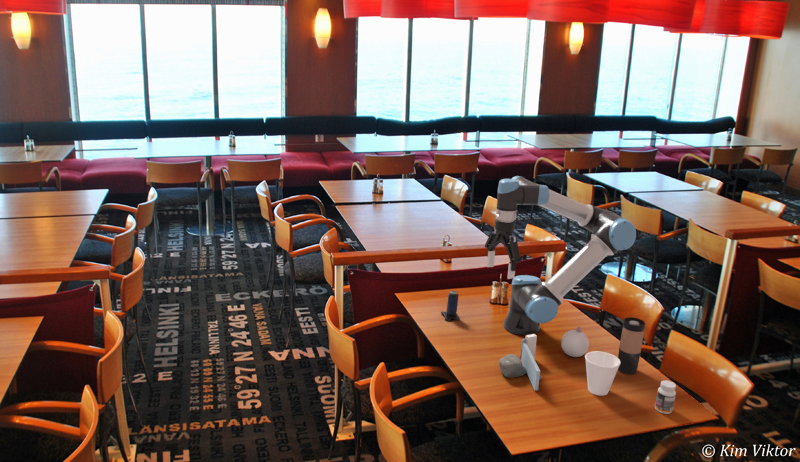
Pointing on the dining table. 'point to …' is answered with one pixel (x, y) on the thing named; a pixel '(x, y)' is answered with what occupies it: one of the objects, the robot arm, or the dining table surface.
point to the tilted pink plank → (531, 343)
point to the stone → (511, 366)
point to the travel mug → (630, 345)
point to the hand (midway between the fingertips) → (500, 272)
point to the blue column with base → (451, 306)
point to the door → (530, 365)
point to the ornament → (575, 343)
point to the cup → (600, 371)
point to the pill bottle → (665, 397)
